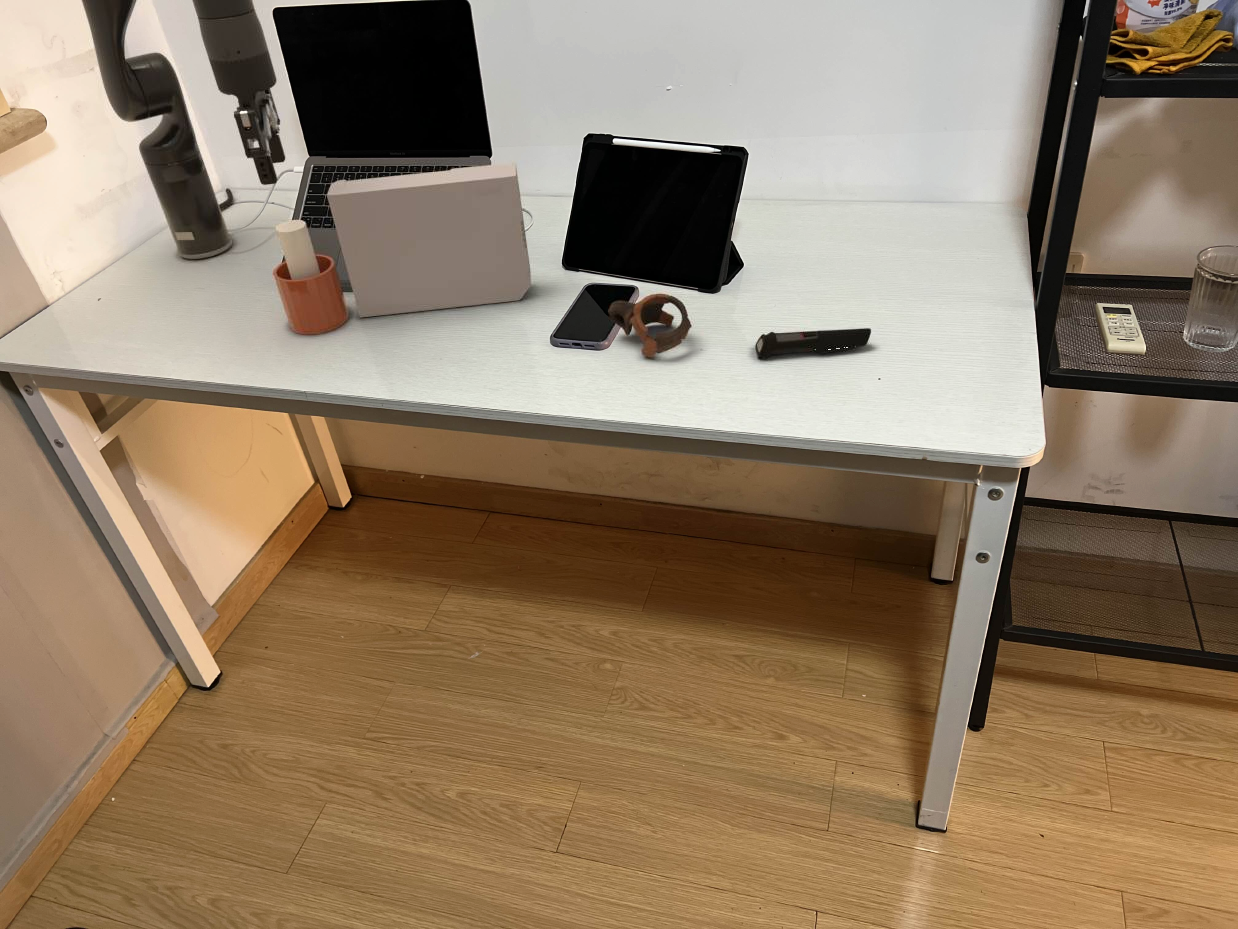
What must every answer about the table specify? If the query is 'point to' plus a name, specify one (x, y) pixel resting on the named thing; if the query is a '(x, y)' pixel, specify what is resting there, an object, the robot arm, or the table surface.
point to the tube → (297, 249)
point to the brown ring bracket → (651, 321)
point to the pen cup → (312, 298)
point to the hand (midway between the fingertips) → (274, 172)
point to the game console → (432, 239)
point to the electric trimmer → (811, 341)
